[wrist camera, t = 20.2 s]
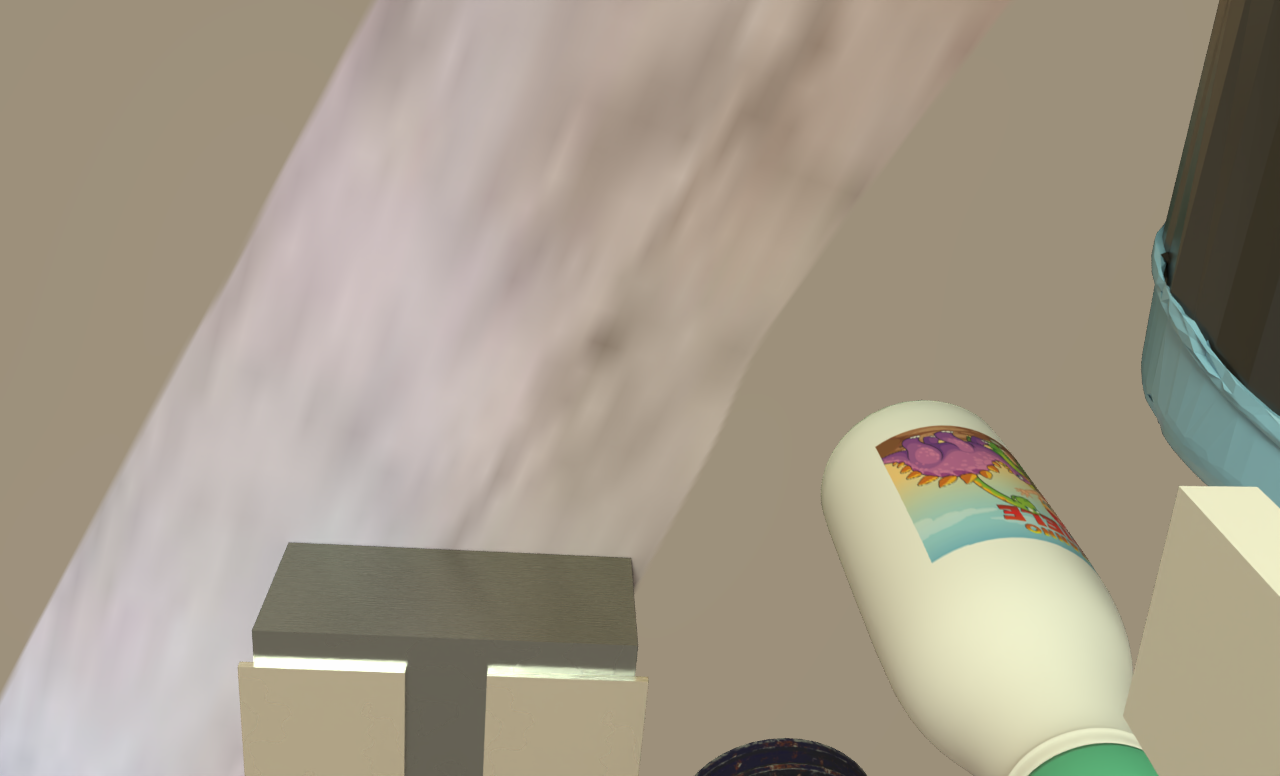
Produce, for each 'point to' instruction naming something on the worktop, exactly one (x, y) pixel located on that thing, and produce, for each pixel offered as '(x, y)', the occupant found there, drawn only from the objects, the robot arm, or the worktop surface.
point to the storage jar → (782, 760)
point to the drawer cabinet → (443, 665)
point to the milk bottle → (979, 598)
